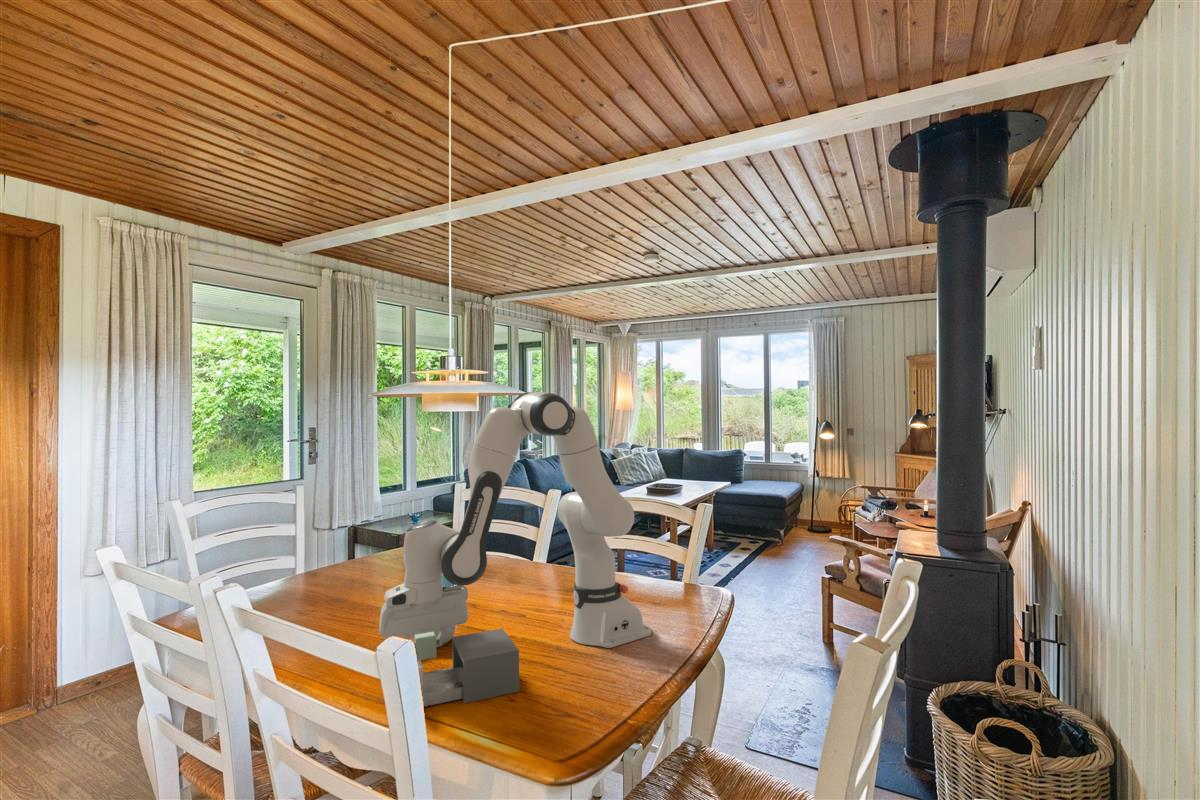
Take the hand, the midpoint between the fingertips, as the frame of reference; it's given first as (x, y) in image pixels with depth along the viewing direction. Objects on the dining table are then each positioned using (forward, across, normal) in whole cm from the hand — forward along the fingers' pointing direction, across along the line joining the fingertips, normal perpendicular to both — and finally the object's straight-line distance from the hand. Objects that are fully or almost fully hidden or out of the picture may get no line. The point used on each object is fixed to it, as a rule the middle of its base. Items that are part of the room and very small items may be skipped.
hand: (425, 648), depth 135 cm
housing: (+6, -11, +12) cm, 18 cm away
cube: (+2, 0, 0) cm, 2 cm away
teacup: (+6, -3, -16) cm, 17 cm away
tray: (+5, -2, +12) cm, 14 cm away
